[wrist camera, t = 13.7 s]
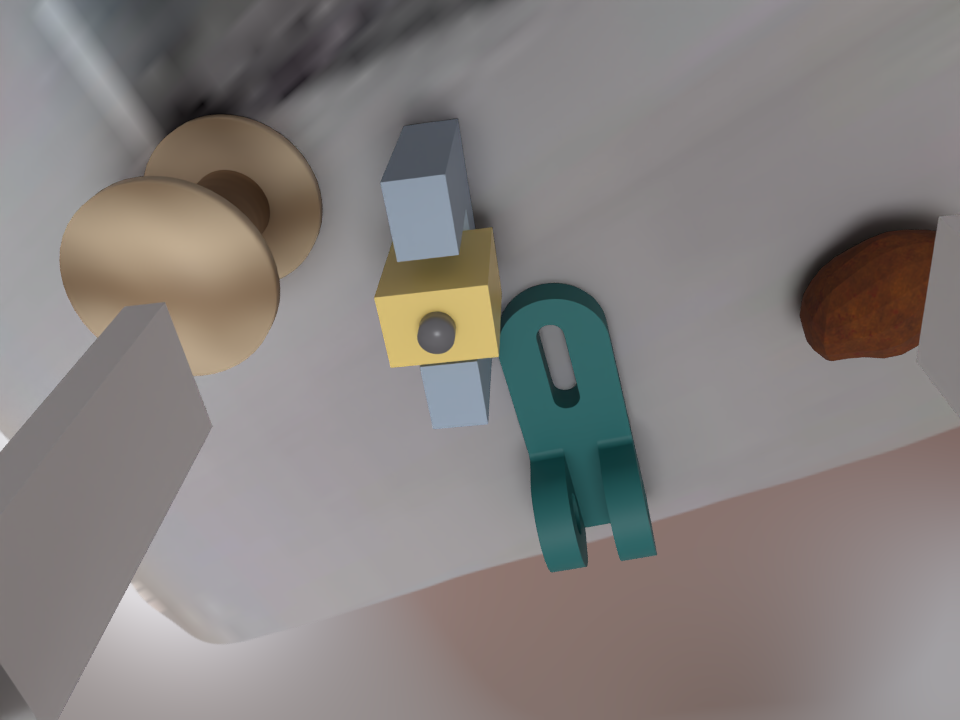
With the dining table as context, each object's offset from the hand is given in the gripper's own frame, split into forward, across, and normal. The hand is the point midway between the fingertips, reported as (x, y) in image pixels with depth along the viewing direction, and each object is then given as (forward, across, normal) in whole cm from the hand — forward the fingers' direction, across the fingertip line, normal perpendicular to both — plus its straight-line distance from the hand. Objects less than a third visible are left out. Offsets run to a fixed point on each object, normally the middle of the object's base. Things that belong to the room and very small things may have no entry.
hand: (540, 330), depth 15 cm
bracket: (+33, 0, -24) cm, 41 cm away
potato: (+33, +18, -17) cm, 41 cm away
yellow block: (+30, -6, -12) cm, 33 cm away
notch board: (+33, -6, -12) cm, 35 cm away
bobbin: (+33, -18, -8) cm, 38 cm away
